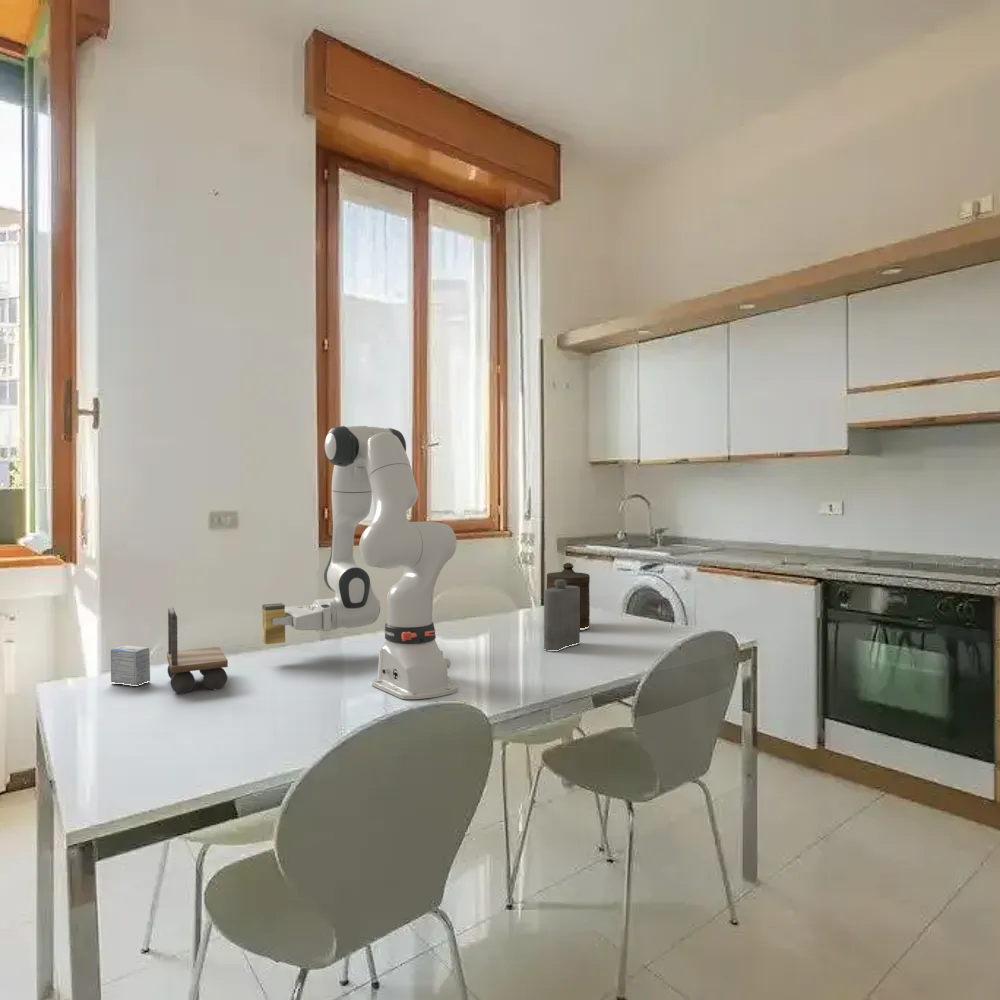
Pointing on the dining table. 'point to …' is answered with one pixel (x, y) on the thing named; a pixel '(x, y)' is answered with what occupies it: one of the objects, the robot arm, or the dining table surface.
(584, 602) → the wooden container
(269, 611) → the chock block
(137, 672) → the grey wood-grain block
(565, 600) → the flask
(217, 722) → the dining table surface
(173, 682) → the trolley
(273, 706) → the dining table surface
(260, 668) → the dining table surface
